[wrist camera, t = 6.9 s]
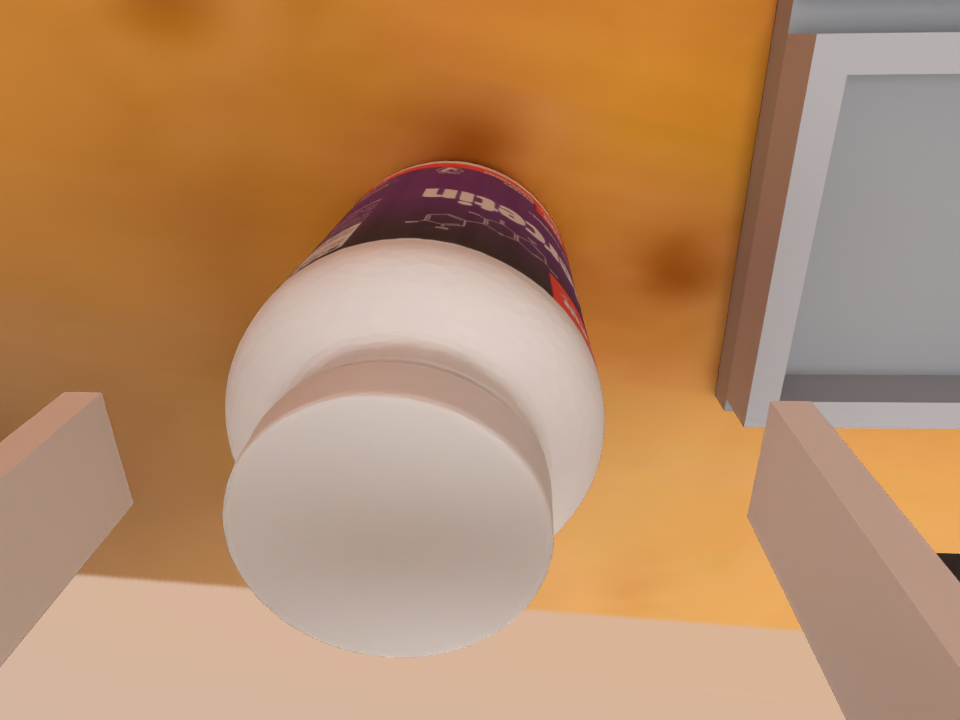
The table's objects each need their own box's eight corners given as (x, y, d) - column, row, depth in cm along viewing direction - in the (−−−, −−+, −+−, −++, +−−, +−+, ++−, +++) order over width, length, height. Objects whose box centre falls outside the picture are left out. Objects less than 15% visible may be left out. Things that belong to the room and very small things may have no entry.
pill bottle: (612, 270, 24) (742, 547, 11) (456, 409, 27) (413, 765, 14) (445, 100, 22) (360, 193, 9) (294, 270, 24) (53, 538, 11)
